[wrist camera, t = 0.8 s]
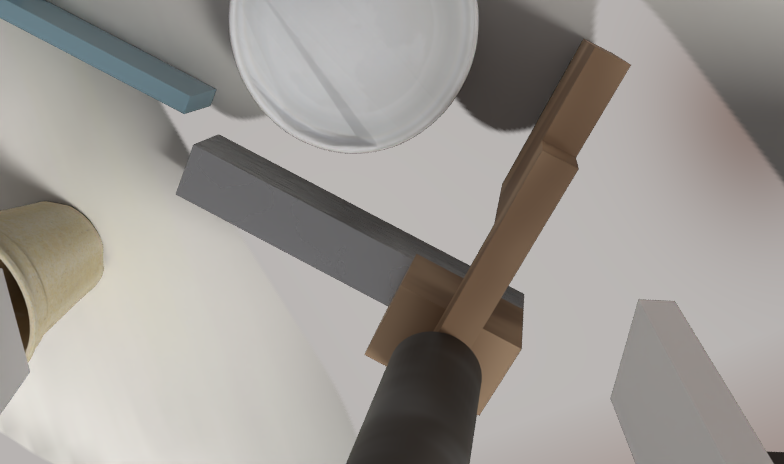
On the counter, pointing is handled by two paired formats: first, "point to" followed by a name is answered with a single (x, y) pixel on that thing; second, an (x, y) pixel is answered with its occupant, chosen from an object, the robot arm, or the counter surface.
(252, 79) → the ramekin
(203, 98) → the frame
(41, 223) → the flower pot
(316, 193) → the rail
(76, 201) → the counter surface
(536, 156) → the pusher
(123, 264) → the counter surface
